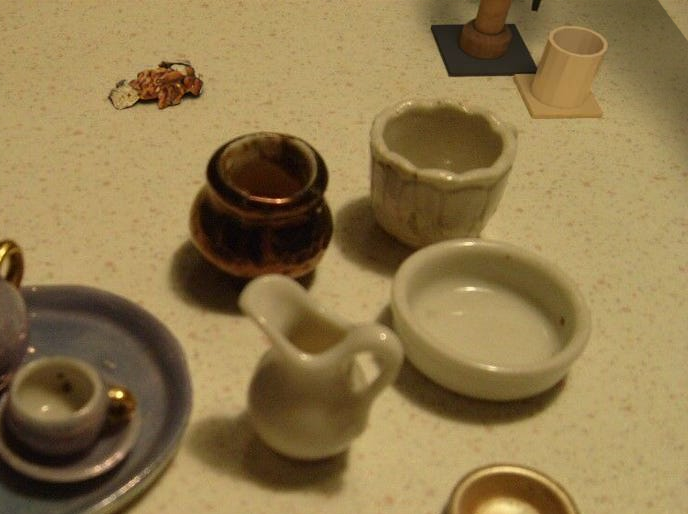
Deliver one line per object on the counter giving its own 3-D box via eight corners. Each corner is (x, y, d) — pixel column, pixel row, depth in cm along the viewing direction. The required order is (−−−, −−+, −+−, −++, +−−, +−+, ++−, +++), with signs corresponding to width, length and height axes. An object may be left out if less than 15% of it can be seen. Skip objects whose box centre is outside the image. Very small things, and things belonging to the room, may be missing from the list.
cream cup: (574, 81, 114) (596, 25, 107) (591, 112, 109) (615, 56, 103) (522, 82, 113) (542, 25, 107) (537, 113, 109) (558, 57, 103)
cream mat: (579, 76, 114) (581, 73, 114) (601, 117, 109) (603, 113, 108) (513, 77, 114) (514, 73, 113) (532, 118, 108) (533, 114, 108)
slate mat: (513, 27, 122) (514, 23, 121) (537, 75, 114) (539, 71, 114) (430, 28, 121) (431, 24, 121) (449, 76, 114) (450, 72, 113)
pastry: (102, 91, 111) (100, 66, 108) (186, 69, 114) (186, 44, 111) (123, 120, 107) (121, 95, 104) (210, 96, 110) (210, 72, 107)
